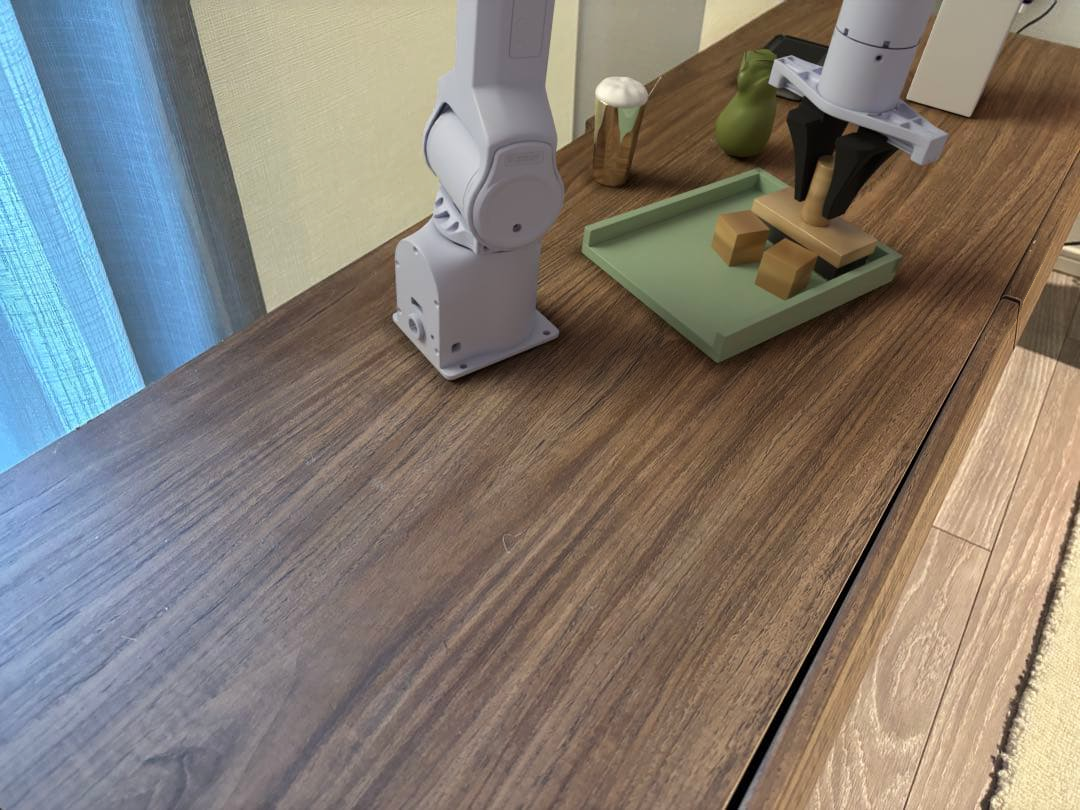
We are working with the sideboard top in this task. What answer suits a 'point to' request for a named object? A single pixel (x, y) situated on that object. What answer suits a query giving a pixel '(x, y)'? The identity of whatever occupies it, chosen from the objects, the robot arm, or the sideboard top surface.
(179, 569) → the sideboard top surface
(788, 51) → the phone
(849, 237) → the brush
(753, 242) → the crumb
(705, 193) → the tray
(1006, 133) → the sideboard top surface
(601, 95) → the milkshake
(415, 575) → the sideboard top surface
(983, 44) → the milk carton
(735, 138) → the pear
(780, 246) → the crumb
